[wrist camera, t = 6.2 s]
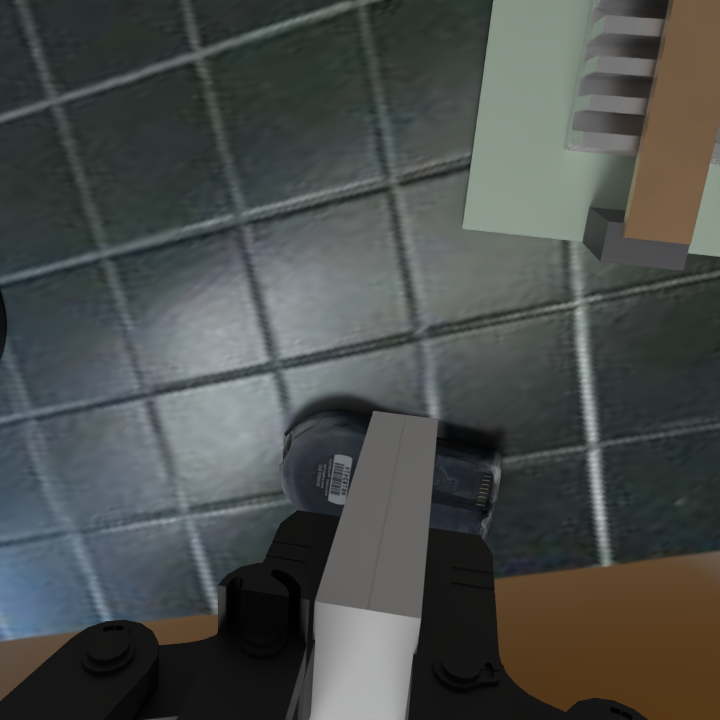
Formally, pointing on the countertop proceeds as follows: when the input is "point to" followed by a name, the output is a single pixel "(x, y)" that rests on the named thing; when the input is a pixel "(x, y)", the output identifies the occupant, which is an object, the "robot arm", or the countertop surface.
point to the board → (557, 147)
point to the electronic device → (340, 457)
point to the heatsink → (617, 77)
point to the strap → (678, 126)
